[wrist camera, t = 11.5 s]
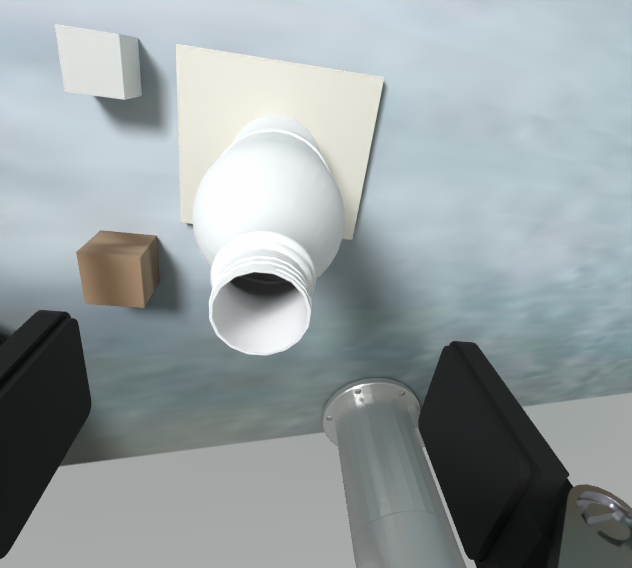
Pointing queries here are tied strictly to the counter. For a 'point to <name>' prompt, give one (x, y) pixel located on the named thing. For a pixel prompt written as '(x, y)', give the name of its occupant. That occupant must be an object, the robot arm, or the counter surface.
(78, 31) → the pale grey block
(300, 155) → the water bottle
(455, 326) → the counter surface
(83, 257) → the walnut block
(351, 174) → the placemat
